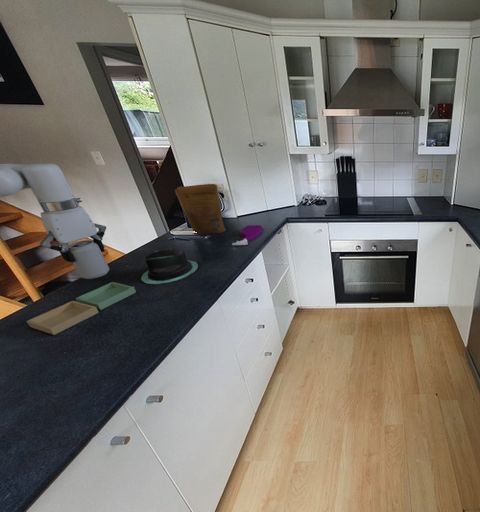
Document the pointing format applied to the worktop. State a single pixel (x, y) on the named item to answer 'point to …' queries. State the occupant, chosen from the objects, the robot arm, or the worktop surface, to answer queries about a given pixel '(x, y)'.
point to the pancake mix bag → (202, 208)
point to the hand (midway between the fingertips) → (86, 256)
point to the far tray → (106, 295)
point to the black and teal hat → (167, 266)
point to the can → (88, 259)
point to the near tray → (62, 317)
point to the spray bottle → (249, 234)
